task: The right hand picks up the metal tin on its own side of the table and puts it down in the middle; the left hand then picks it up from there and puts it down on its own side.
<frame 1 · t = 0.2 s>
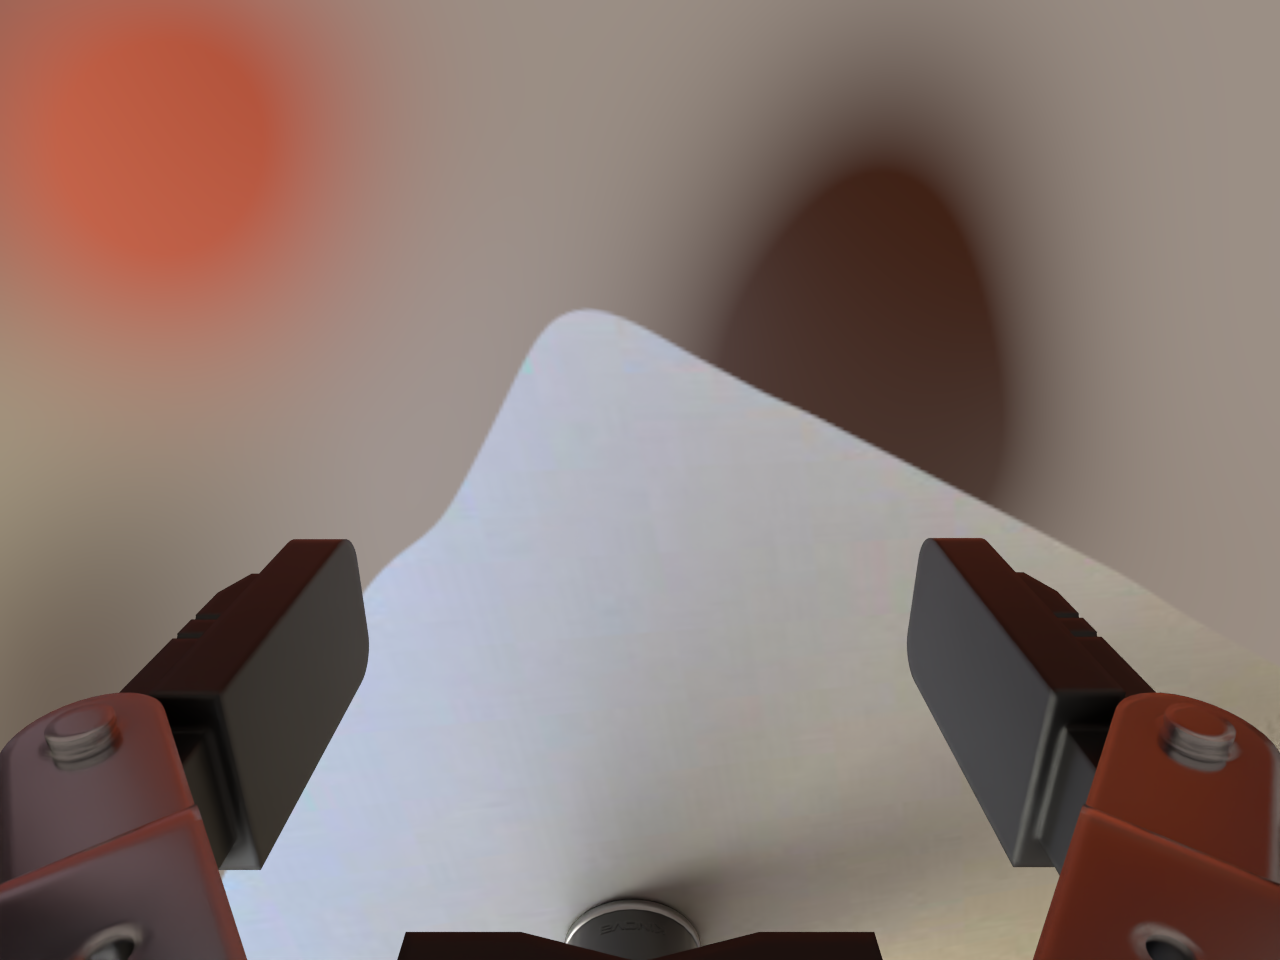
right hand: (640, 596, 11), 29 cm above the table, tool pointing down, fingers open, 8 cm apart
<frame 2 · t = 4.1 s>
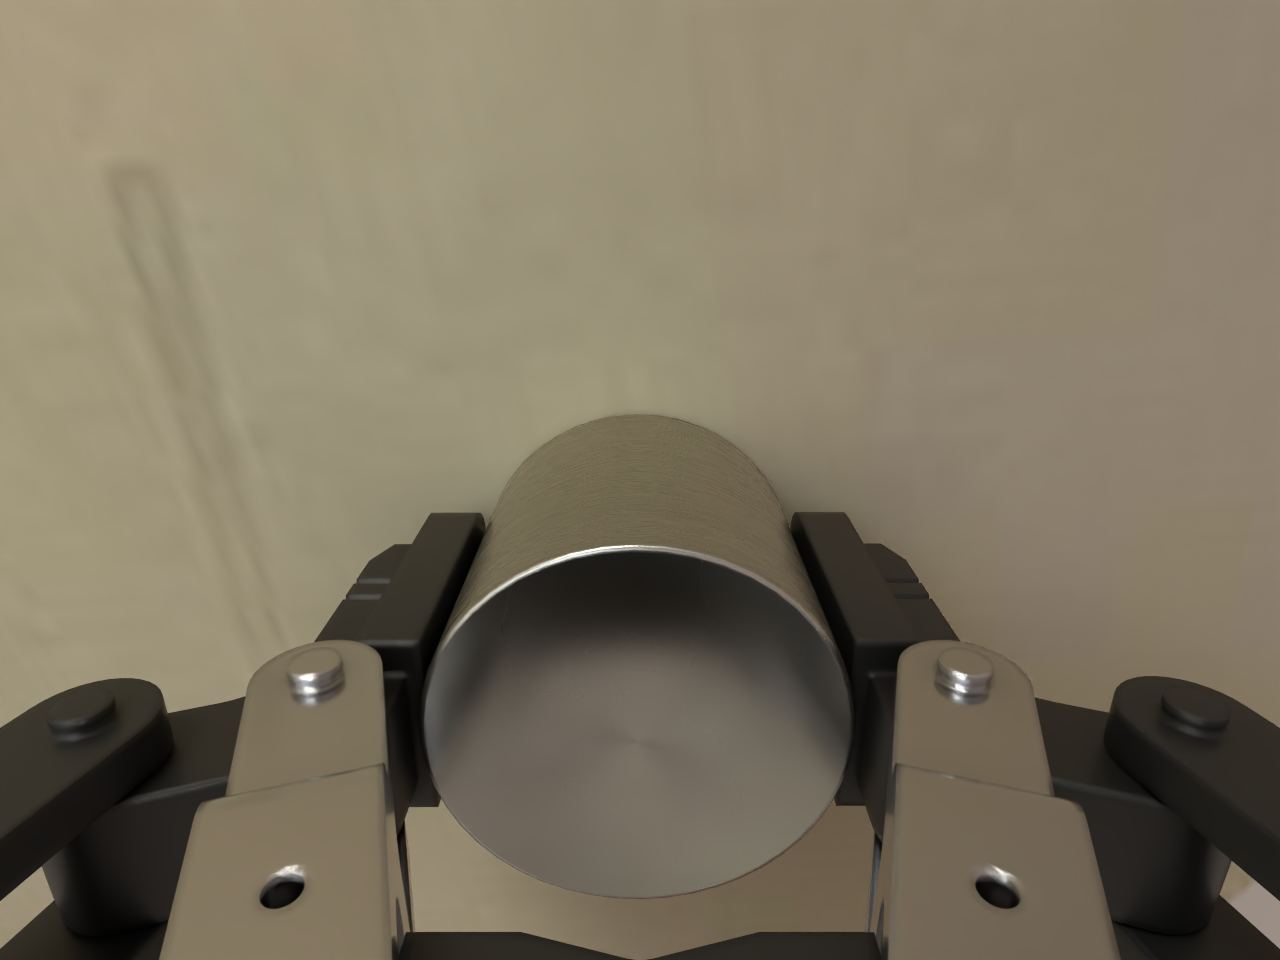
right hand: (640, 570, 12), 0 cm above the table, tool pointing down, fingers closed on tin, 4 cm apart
tin: (638, 555, 12), on the table, touching right hand
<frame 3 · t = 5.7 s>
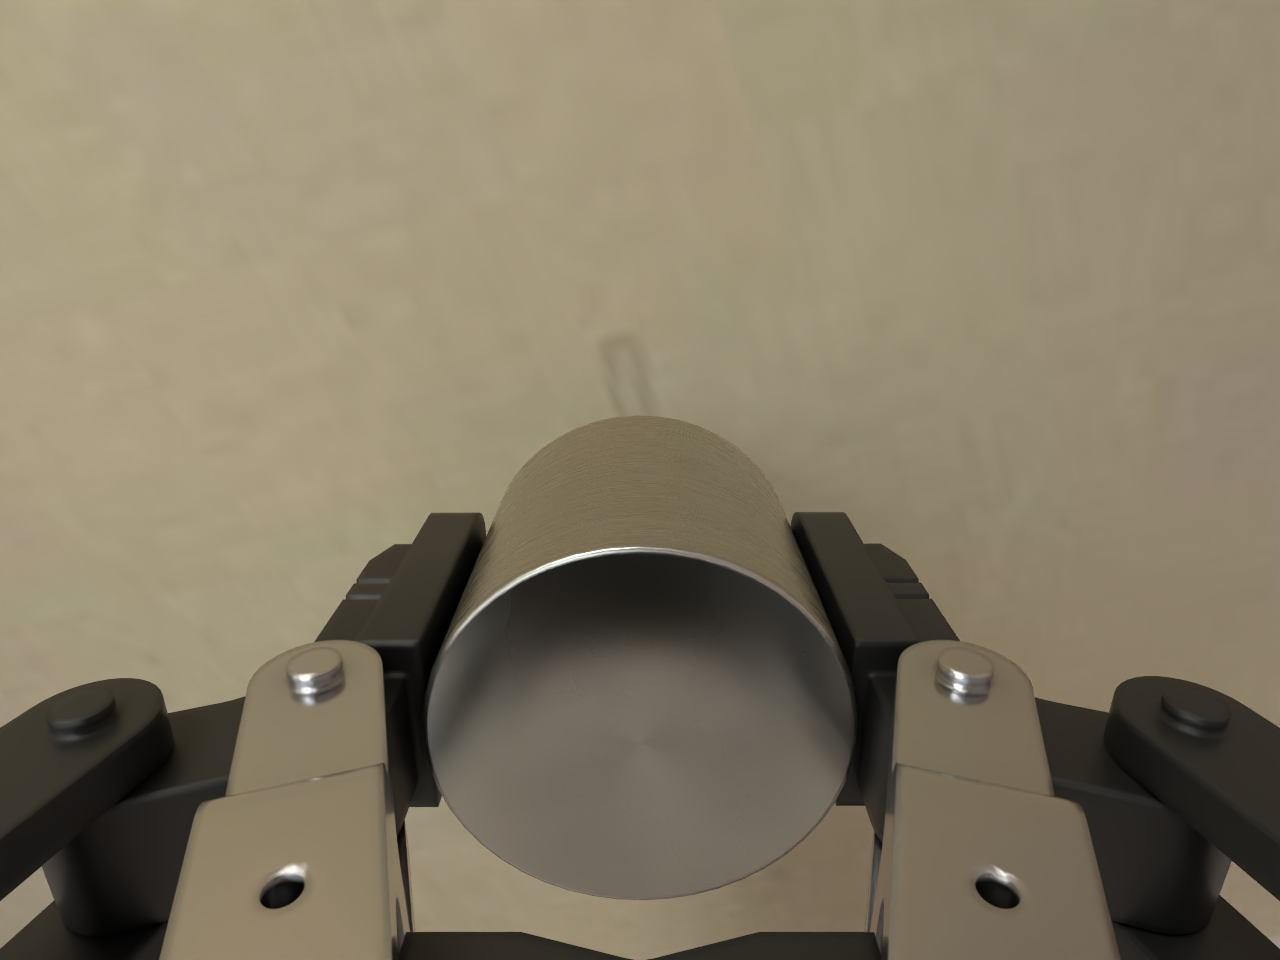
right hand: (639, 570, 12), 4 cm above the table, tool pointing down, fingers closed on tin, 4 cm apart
tin: (640, 556, 12), point 3 cm above the table, touching right hand
when the right hand's fingers open (1 cm above the table, at t = 7.4 s): tin stays where it is, on the table.
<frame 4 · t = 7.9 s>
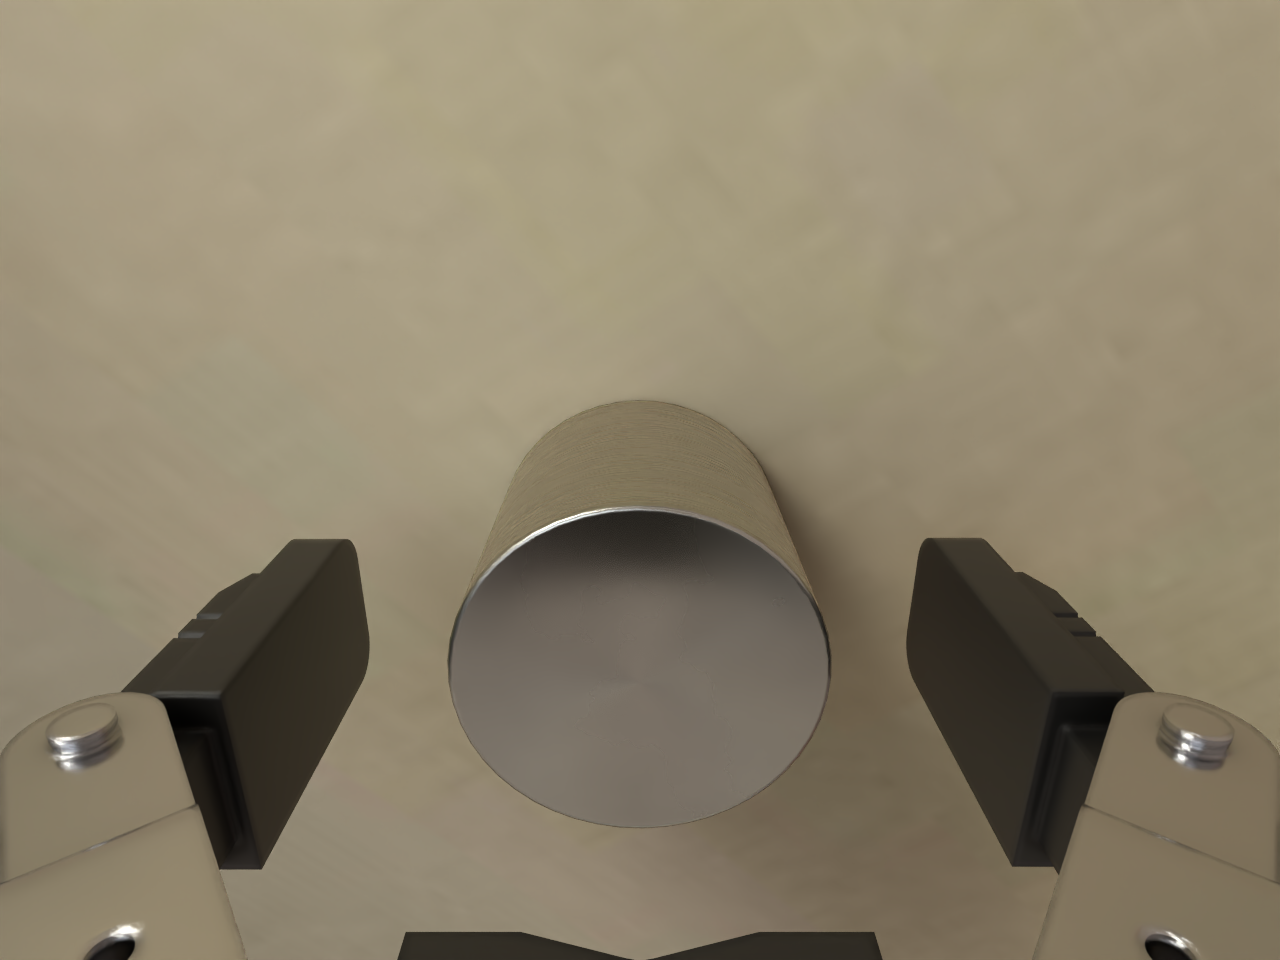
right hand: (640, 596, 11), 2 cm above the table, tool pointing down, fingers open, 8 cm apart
tin: (639, 530, 14), on the table
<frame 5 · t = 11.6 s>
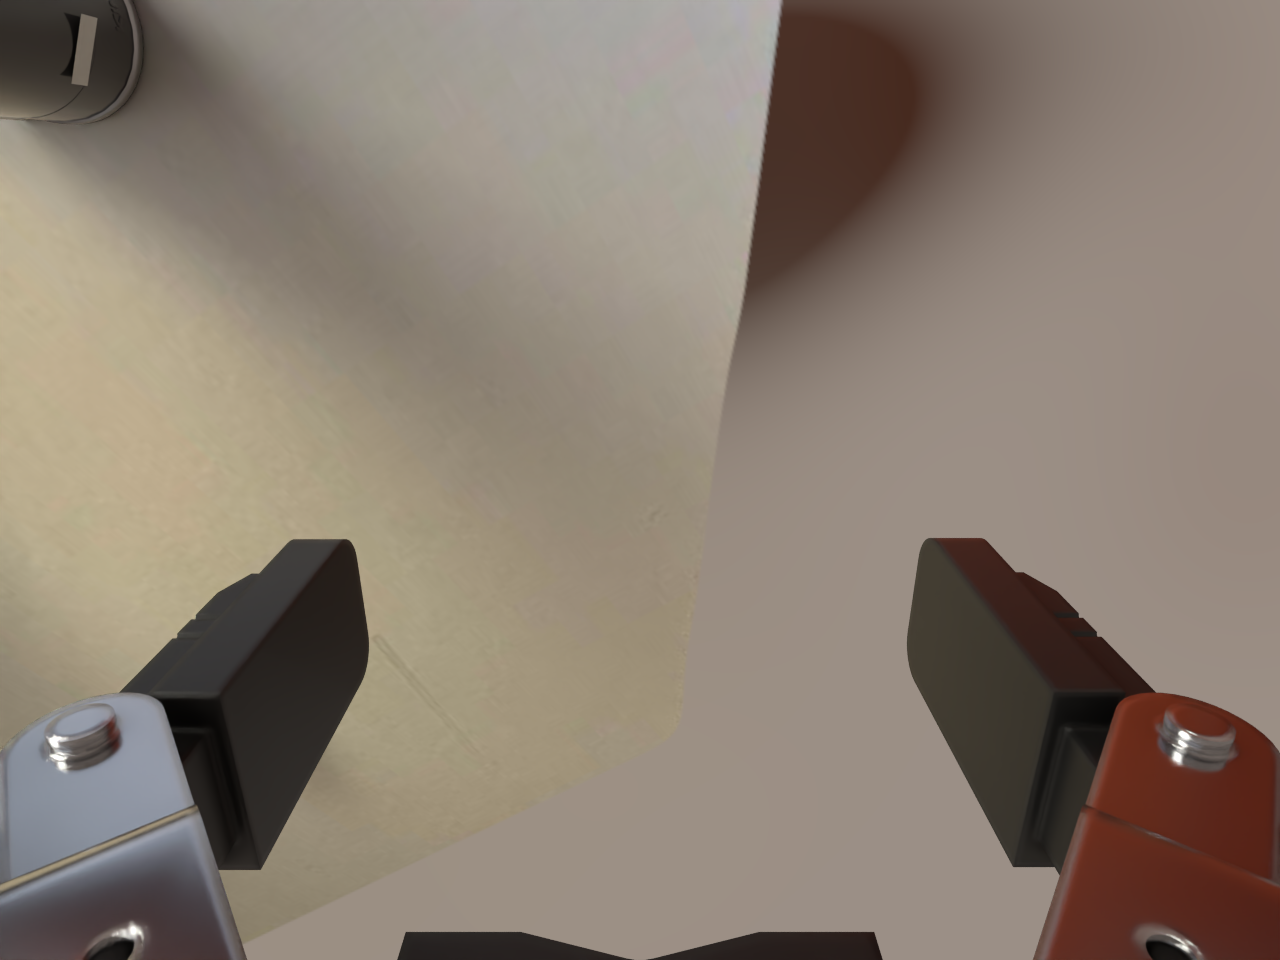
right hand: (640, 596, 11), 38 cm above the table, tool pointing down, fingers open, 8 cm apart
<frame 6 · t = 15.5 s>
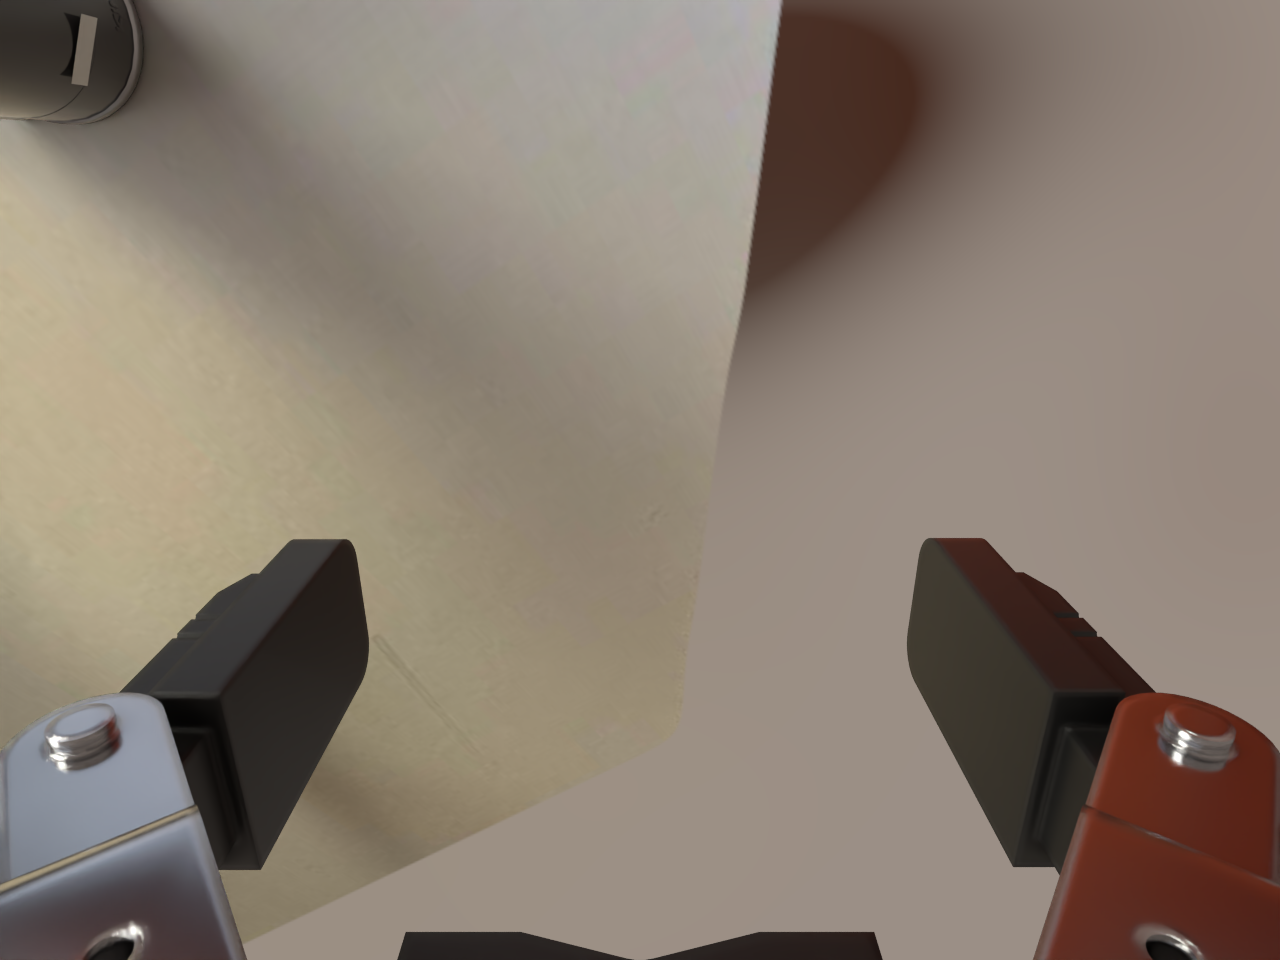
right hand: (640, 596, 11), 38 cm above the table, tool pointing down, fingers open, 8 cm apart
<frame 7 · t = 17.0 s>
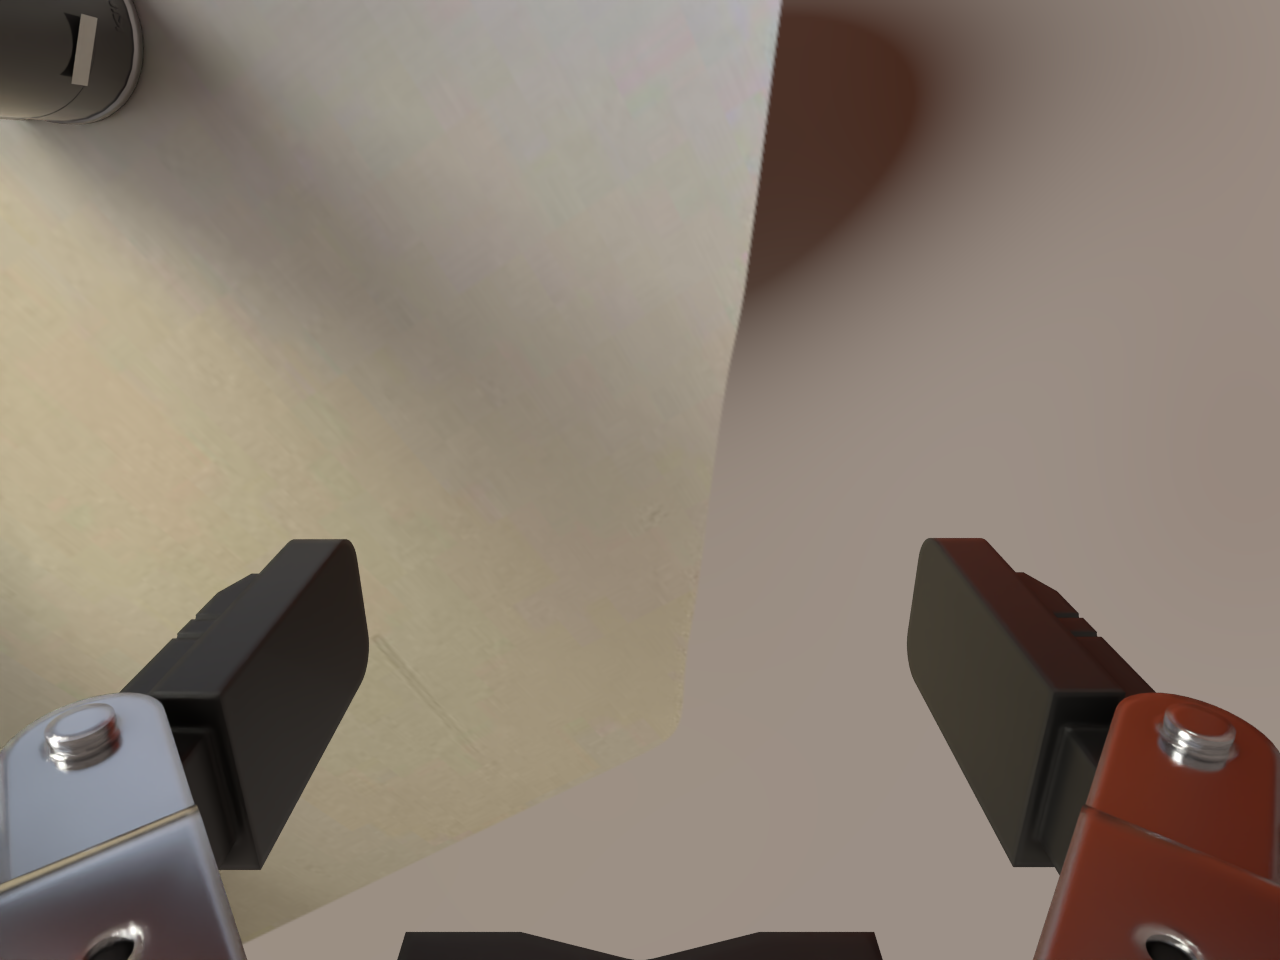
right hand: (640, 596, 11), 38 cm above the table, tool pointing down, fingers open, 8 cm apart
when the left hand's fingers open (0 cm above the table, at t = 18.8 s): tin stays where it is, on the table.
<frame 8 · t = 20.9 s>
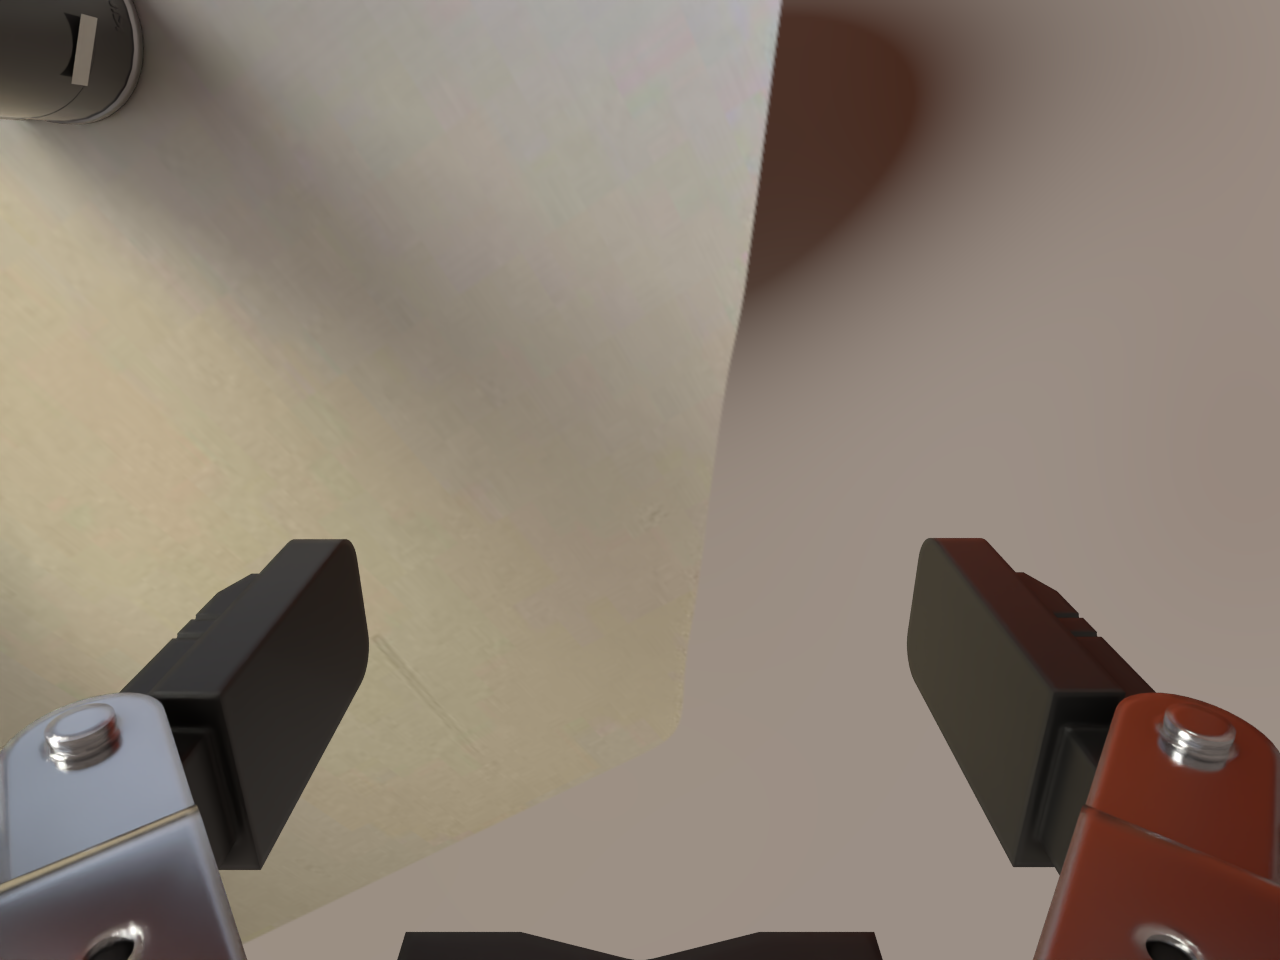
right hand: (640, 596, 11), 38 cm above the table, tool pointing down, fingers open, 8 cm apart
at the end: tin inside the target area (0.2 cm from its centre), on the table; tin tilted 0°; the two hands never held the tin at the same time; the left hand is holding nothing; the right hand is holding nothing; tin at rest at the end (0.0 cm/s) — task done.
